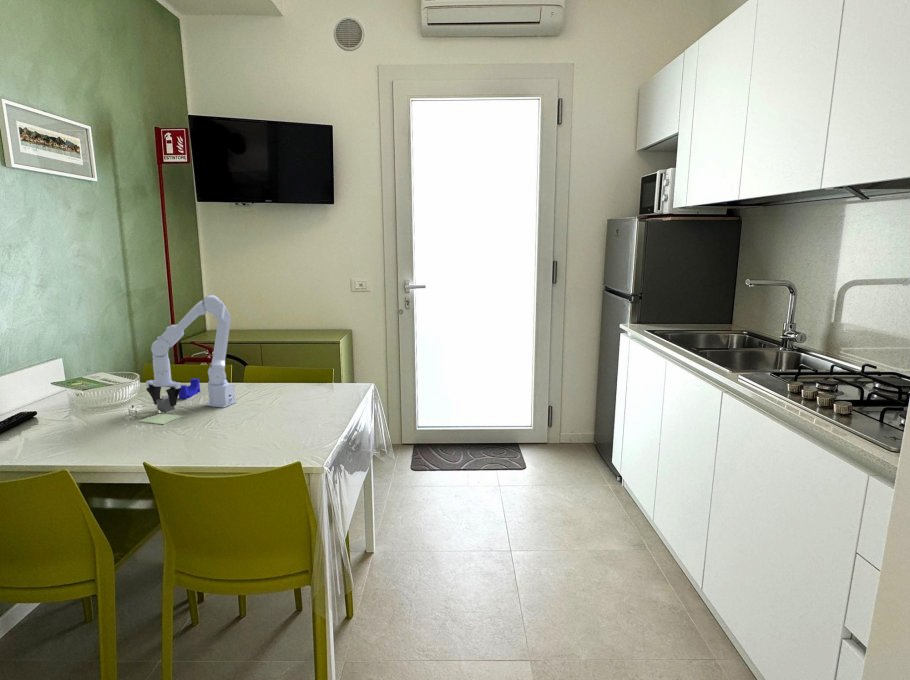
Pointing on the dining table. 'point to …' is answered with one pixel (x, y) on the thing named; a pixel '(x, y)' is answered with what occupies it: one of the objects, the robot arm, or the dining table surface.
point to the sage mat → (160, 419)
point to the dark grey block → (164, 403)
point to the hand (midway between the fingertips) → (165, 404)
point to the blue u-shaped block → (189, 389)
